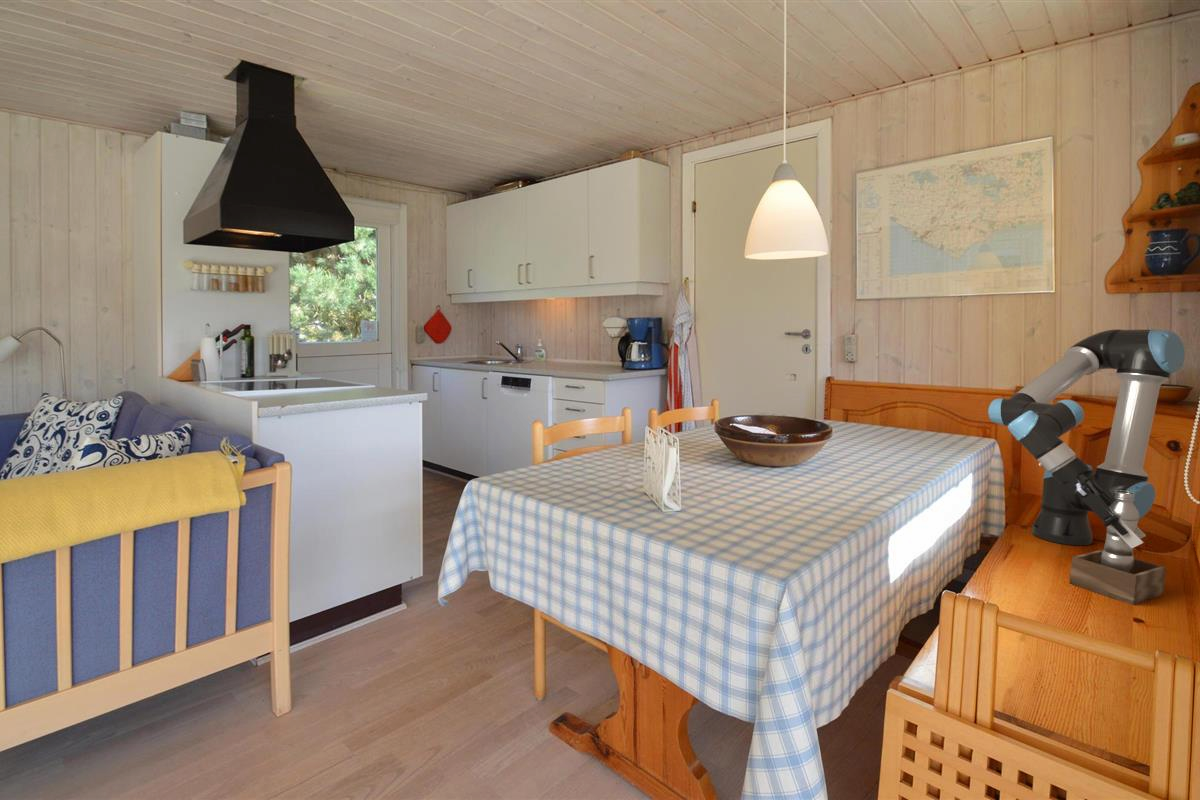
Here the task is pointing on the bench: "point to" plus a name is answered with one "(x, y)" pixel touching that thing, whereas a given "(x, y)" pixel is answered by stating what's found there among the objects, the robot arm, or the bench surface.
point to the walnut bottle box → (1118, 578)
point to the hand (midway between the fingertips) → (1138, 541)
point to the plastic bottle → (1115, 547)
